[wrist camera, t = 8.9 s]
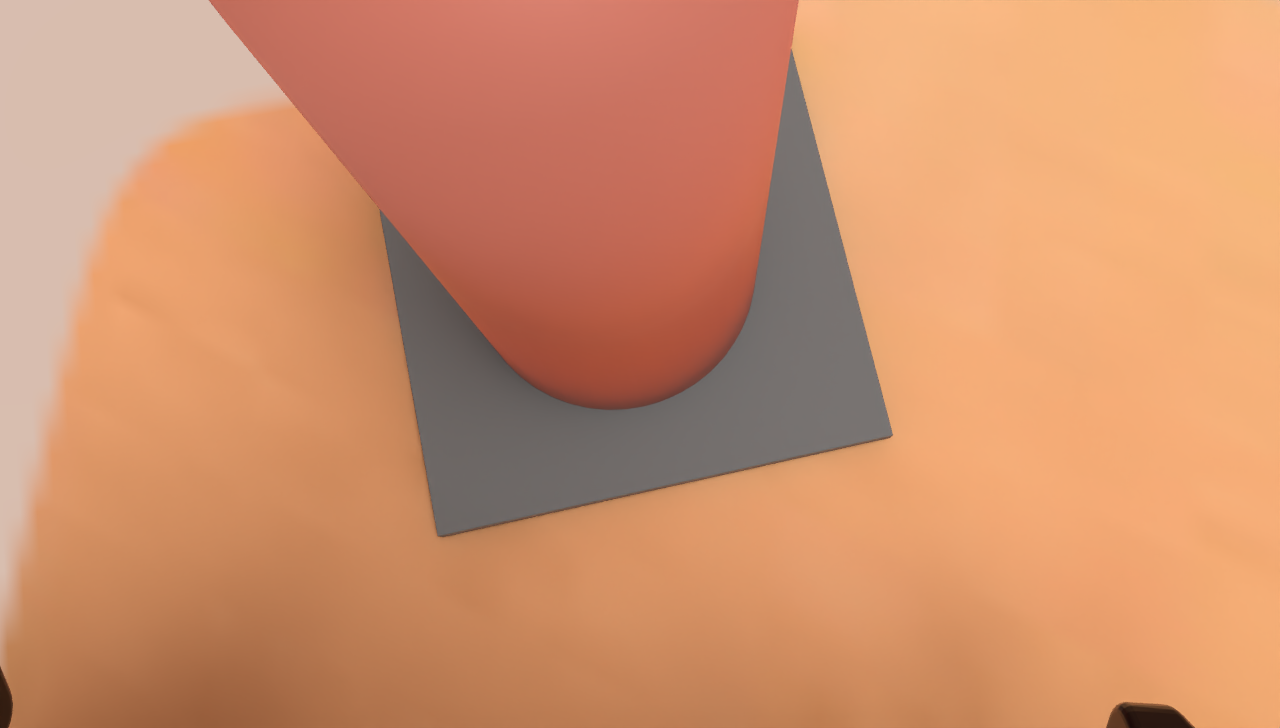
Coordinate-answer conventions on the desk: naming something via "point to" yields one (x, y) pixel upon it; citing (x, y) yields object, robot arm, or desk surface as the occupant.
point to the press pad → (664, 431)
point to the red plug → (557, 164)
